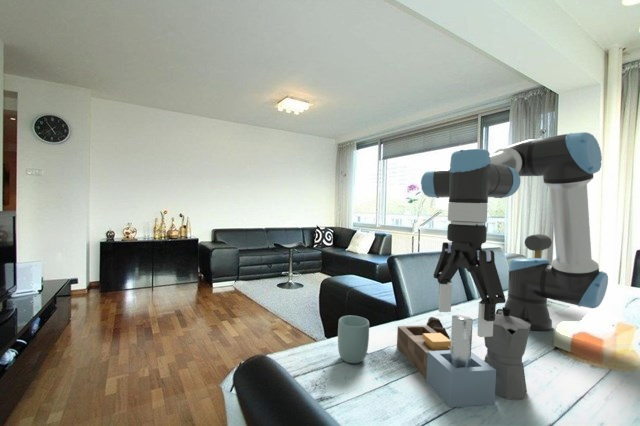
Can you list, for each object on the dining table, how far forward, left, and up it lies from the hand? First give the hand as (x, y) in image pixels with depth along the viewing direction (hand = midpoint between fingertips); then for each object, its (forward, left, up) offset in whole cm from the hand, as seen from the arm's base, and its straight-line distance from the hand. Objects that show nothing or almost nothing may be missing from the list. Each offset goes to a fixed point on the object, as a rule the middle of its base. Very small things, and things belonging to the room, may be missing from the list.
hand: (462, 322), depth 66 cm
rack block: (0, 0, -15) cm, 15 cm away
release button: (0, -9, -14) cm, 16 cm away
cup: (+19, -16, -15) cm, 29 cm away
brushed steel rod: (0, 0, -15) cm, 15 cm away
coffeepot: (-11, -1, -15) cm, 19 cm away
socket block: (0, -13, -15) cm, 20 cm away
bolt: (-11, -28, -15) cm, 34 cm away
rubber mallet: (-81, -62, -15) cm, 103 cm away
